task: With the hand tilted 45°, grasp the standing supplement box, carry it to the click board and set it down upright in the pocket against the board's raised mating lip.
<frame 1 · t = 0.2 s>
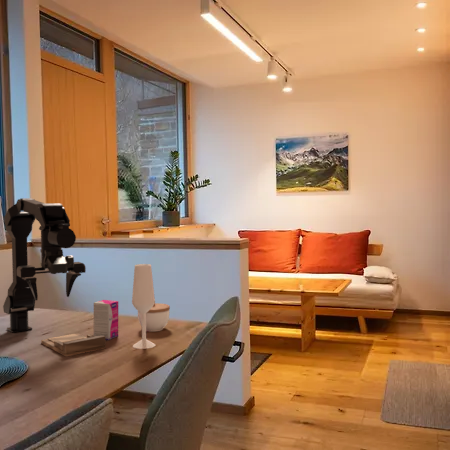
hand: (52, 298, 155), 14 cm above the table, tool pointing down, fingers open, 9 cm apart
supplement box: (106, 338, 164), on the table
champagne flute: (144, 346, 155), on the table
click board: (72, 345, 155), on the table
lidded jar: (153, 329, 175), on the table
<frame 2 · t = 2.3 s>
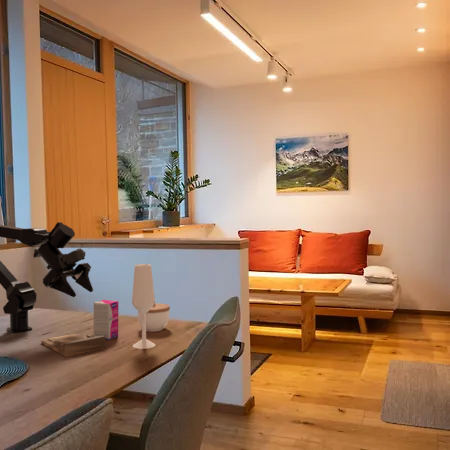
hand: (83, 293, 166), 13 cm above the table, tool tilted 45°, fingers open, 9 cm apart
nothing on the table moved.
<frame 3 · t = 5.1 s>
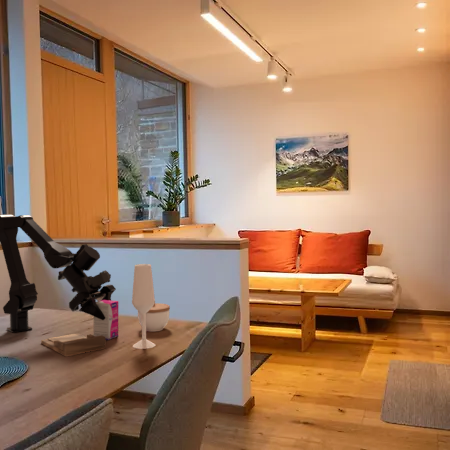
hand: (109, 317, 164), 7 cm above the table, tool tilted 45°, fingers closed on supplement box, 6 cm apart
supplement box: (106, 338, 164), on the table, touching gripper
everything else where it was.
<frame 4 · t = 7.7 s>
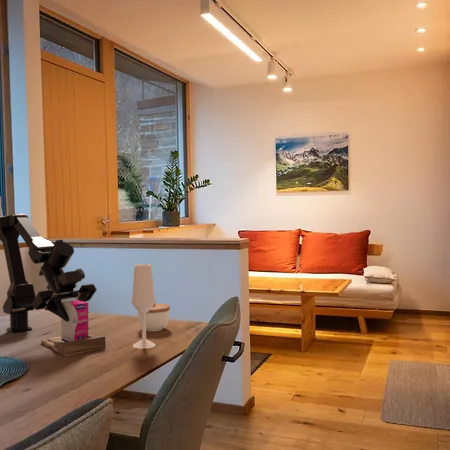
hand: (77, 319, 152), 9 cm above the table, tool tilted 45°, fingers closed on supplement box, 6 cm apart
supplement box: (75, 341, 154), point 2 cm above the table, touching gripper
everything else where it was.
when the fingers open (8 cm above the table, at t = 8.2 s): supplement box stays where it is, resting on click board.
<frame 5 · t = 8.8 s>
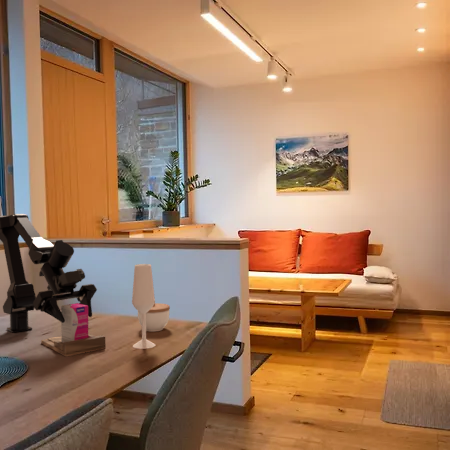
hand: (77, 319, 152), 9 cm above the table, tool tilted 45°, fingers open, 9 cm apart
supplement box: (75, 344, 154), point 1 cm above the table, touching click board
everything else where it was.
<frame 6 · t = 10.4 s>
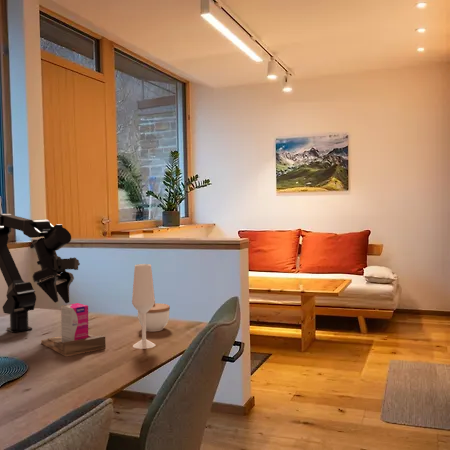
hand: (62, 302, 163), 11 cm above the table, tool tilted 25°, fingers open, 9 cm apart
nothing on the table moved.
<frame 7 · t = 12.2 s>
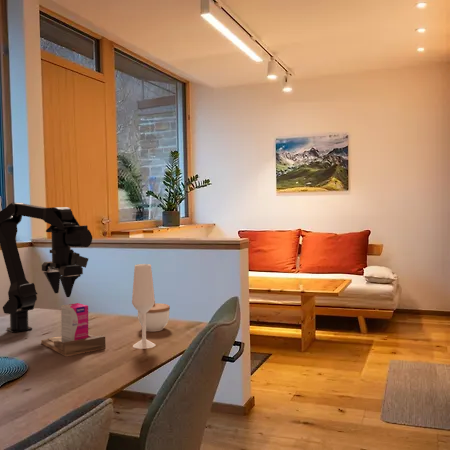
hand: (62, 295, 167), 13 cm above the table, tool pointing down, fingers open, 9 cm apart
nothing on the table moved.
at the end: supplement box inside the target area on the click board (0.5 cm from its centre), point 0.8 cm above the click board's base; supplement box tilted 0°; the gripper is holding nothing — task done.
